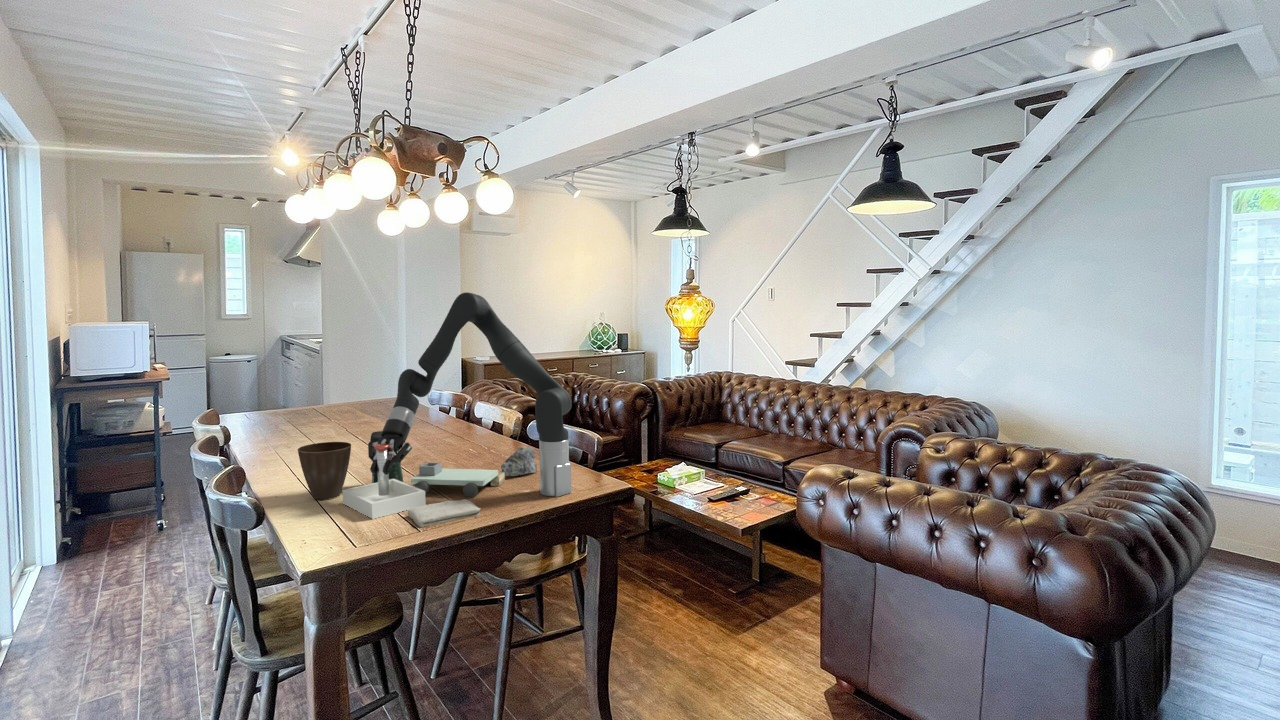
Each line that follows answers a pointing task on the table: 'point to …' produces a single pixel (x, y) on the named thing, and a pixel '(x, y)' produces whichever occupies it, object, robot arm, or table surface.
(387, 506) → the tray
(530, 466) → the mineral rock
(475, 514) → the washcloth
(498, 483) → the block
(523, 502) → the table surface
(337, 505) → the table surface
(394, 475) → the coffee jar
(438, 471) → the trolley
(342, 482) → the plant pot
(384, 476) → the pin
